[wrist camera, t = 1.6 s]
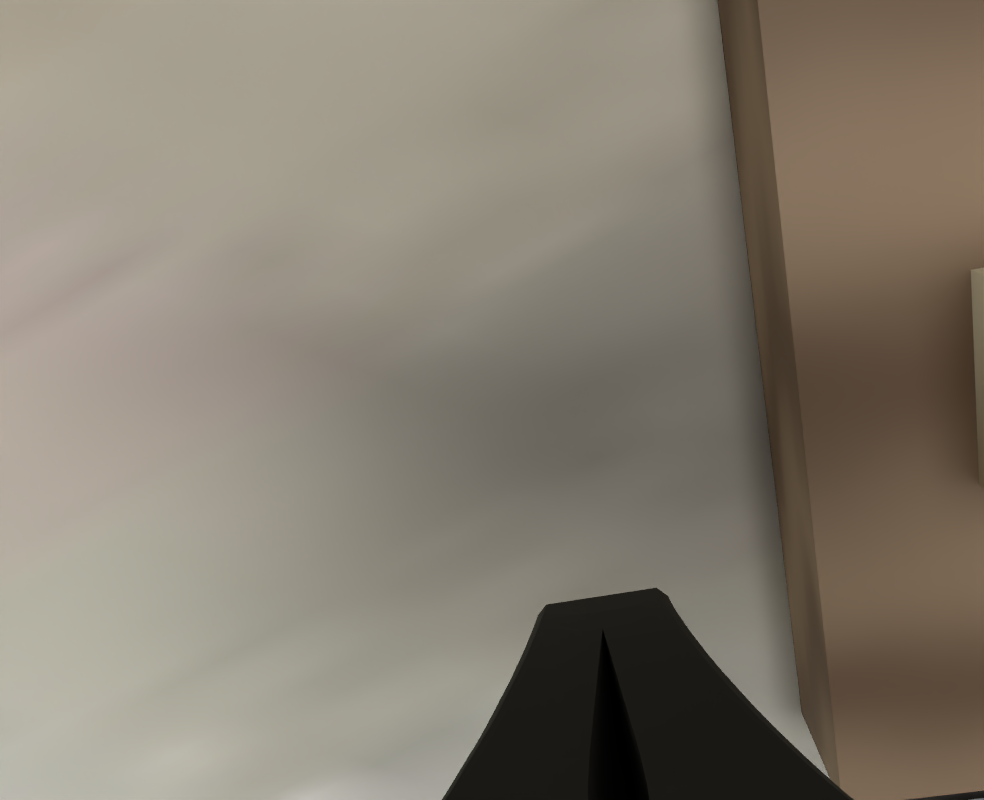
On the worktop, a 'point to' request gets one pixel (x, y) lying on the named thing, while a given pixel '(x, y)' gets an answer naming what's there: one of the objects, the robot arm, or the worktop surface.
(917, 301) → the trap deck
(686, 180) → the worktop surface
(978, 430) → the block
